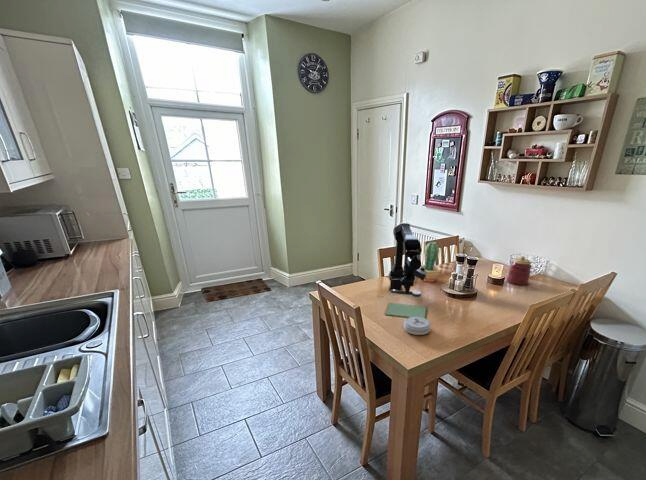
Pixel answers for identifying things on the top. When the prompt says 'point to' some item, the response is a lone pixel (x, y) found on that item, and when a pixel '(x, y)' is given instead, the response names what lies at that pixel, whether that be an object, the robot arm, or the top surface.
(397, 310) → the placemat
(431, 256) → the potted cactus
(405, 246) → the robot arm
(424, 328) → the lid
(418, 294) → the spoon
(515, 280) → the kitchen canister
